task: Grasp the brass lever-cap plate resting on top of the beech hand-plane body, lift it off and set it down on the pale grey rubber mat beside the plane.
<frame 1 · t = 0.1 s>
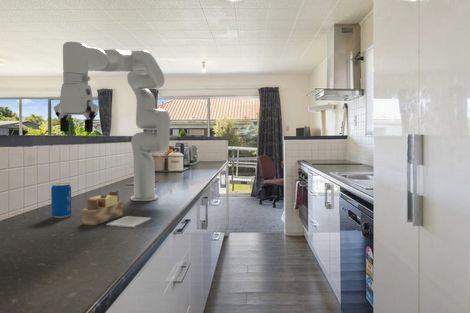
hand: (76, 131, 113), 31 cm above the countertop, fingers open, 9 cm apart
lever cap: (103, 205, 119), point 5 cm above the countertop, touching plane body
plane body: (103, 219, 119), on the countertop
mat: (129, 221, 116), on the countertop
beverage can: (61, 217, 123), on the countertop
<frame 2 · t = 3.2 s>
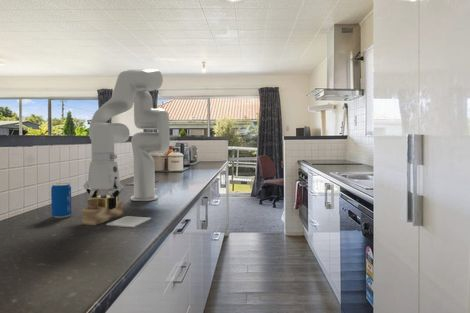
hand: (103, 207, 119), 4 cm above the countertop, fingers closed on lever cap, 6 cm apart
lever cap: (103, 205, 119), point 5 cm above the countertop, touching gripper, plane body
everything else where it was.
when the fingers open (2 cm above the countertop, at t = 10.1 s): lever cap drops 2 cm, resting on mat.
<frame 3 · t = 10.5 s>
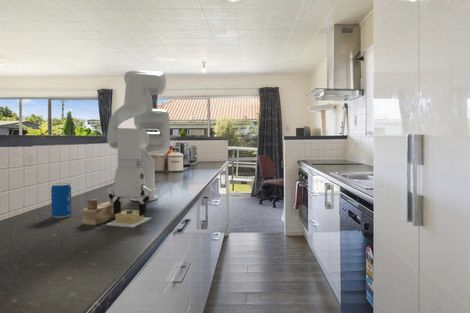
hand: (129, 213, 116), 3 cm above the countertop, fingers open, 9 cm apart
lever cap: (129, 220, 116), resting on mat
everything else where it was.
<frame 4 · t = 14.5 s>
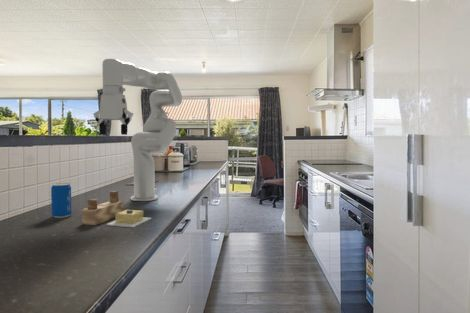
hand: (113, 134, 134), 30 cm above the countertop, fingers open, 9 cm apart
nothing on the countertop moved.
at the end: lever cap inside the target area on the mat (0.1 cm from its centre), point 0.4 cm above the mat's base; lever cap touching mat; lever cap tilted 0° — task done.
